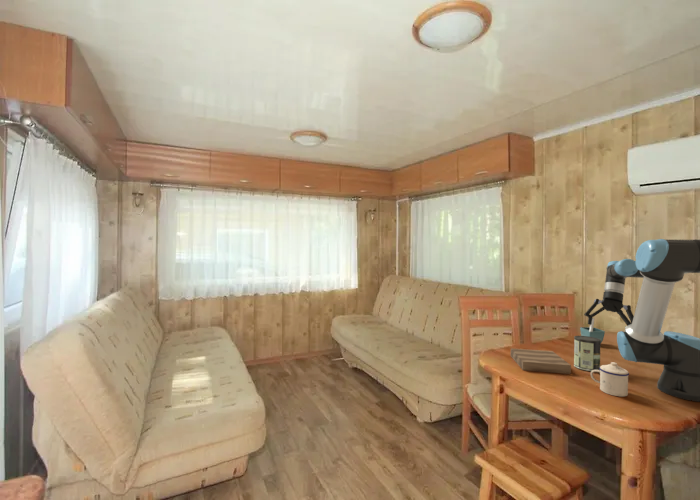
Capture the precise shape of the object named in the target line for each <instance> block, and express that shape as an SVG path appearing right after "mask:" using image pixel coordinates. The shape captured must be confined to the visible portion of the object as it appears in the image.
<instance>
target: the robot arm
mask: <svg viewBox="0 0 700 500" xmlns="http://www.w3.org/2000/svg"><path fill="white" fill-rule="evenodd" d="M634 259H635V260H634ZM634 259H631V258H625V259H621V260H612V261H609V262H608V263H607V267H606V271H605V272H606V273H605V281H604V286H603V287H604V288H603V291H604V292H603V294H602V295H603V297H602V300H601V299H598V298H596V299H594V301H593V303H592V305H591V306H590V307H589V308H588V309H587V311H586V312H585V313H584V316H585V317H587V325H589V327H590V329H589V332H593V328H594V324H595V318H594V317H595V316H597V315H598V314H600V313H601V312H603V311H604V310H605V311H606V312H610V313H611V312H612V313H617V314H618V315H619V317H620V318H621V319H622V320H623V322H624V323H625V324H626V326H625V327H624V330H621V331H618V332H617V334H616V343H617V347H618V351H619V353H620V356H621V357H622V358H623V359H624V360H626V361H629V362H635V363H645V364H654V365H662V366H663V370H662V372H661V373H660V376H659V379H658V380H657V383H656V387H657V389H658V390H659V391H660V392H662V393H664V394H667V395H669V396H672V397H675V398H678V399H681V400H687V401H691V400H692V402H700V338H699V337H697V336H693V335H690V334H685V333H681V332H675V331H669V330H667V331H664V332H663V333H662V332H661V331H662V328H663V325H664V324H663V323H664V321H665V318H666V314H667V311H668V308H669V304H670V301H671V299H672V295H673V291H674V288H675V284H676V283H679V282H681V281H683V279H684V275H687V274H700V239H666V238H665V239H663V238H659V239H648V240H644V241H643V242H642V243H641V244H640V245H639V246H638V247H637V251H636V253H635V258H634ZM627 278H639V279H641V278H642V283H641V287H640V289H639V290H640V291H639V295H638V299H637V302H636V305H635V307H636V308H635V310H634V313H633V311H632V307H631V305H630V304H628V305H627V304H623V302H624V293H625V285H626V284H625V283H626V279H627ZM600 304H601V305H602V307H600V308H598V309H597V310H596V311H594V309H595V308H596V307H597V306H598V305H600ZM622 309H624V310H625V312H626V314H627V316H628V317H627V316H626V315H625V313H624V311H623V310H622ZM593 311H594V312H593ZM592 312H593V313H592Z"/></svg>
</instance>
